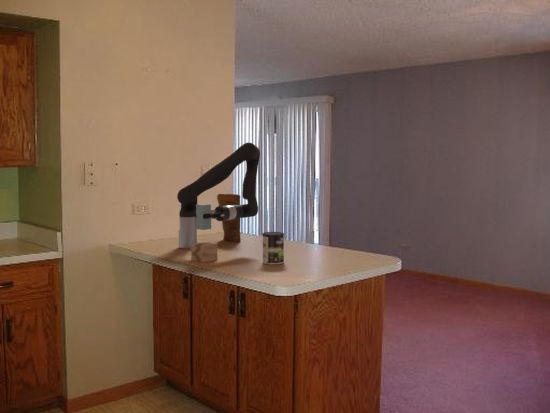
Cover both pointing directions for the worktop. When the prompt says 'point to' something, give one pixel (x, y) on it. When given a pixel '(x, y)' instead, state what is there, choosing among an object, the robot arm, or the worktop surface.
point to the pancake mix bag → (232, 226)
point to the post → (200, 210)
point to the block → (204, 251)
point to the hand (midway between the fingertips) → (199, 216)
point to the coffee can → (273, 248)
